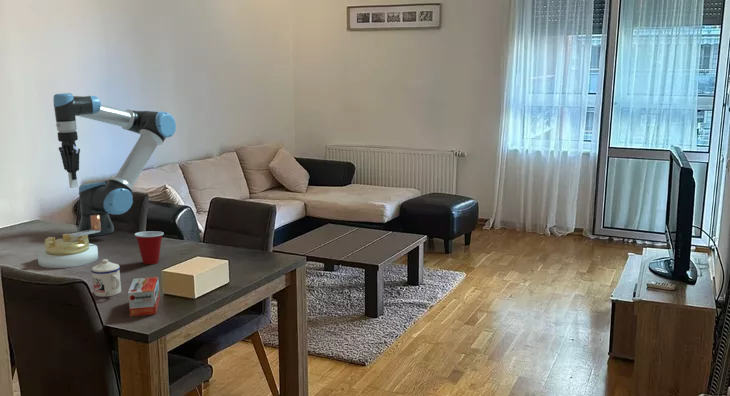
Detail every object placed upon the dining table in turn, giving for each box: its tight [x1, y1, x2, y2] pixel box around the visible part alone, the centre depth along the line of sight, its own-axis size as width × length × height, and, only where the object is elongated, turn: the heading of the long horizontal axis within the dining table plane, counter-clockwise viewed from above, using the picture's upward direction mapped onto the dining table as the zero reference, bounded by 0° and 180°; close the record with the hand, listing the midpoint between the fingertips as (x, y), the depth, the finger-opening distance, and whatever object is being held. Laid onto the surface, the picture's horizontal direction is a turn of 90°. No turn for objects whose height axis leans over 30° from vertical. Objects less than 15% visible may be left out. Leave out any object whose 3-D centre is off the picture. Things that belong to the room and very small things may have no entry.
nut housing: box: [37, 243, 99, 269], centre depth 277 cm, size 22×22×4 cm
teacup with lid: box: [90, 258, 122, 298], centre depth 236 cm, size 12×9×12 cm
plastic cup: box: [134, 230, 164, 265], centre depth 272 cm, size 11×11×12 cm
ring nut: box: [44, 215, 101, 255], centre depth 278 cm, size 23×16×11 cm
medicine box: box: [127, 276, 161, 317], centre depth 223 cm, size 15×8×8 cm, turn 12°
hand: (73, 187), depth 294 cm, fingers closed
